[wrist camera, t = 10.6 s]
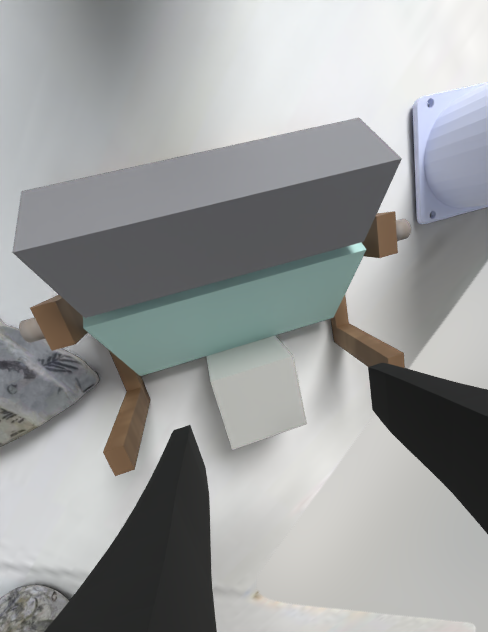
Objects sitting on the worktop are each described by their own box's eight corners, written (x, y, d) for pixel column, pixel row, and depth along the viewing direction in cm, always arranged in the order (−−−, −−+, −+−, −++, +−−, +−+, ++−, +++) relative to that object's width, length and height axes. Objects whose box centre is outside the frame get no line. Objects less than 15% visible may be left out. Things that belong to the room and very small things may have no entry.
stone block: (293, 355, 16) (307, 423, 18) (269, 328, 21) (282, 384, 23) (210, 381, 16) (232, 450, 17) (205, 348, 20) (222, 404, 22)
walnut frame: (330, 132, 18) (404, 79, 12) (354, 335, 22) (417, 372, 16) (33, 199, 16) (-65, 175, 10) (126, 407, 20) (99, 481, 14)
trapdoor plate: (370, 115, 11) (414, 155, 10) (316, 286, 21) (334, 318, 20) (6, 194, 10) (-6, 256, 8) (135, 338, 20) (140, 377, 18)
